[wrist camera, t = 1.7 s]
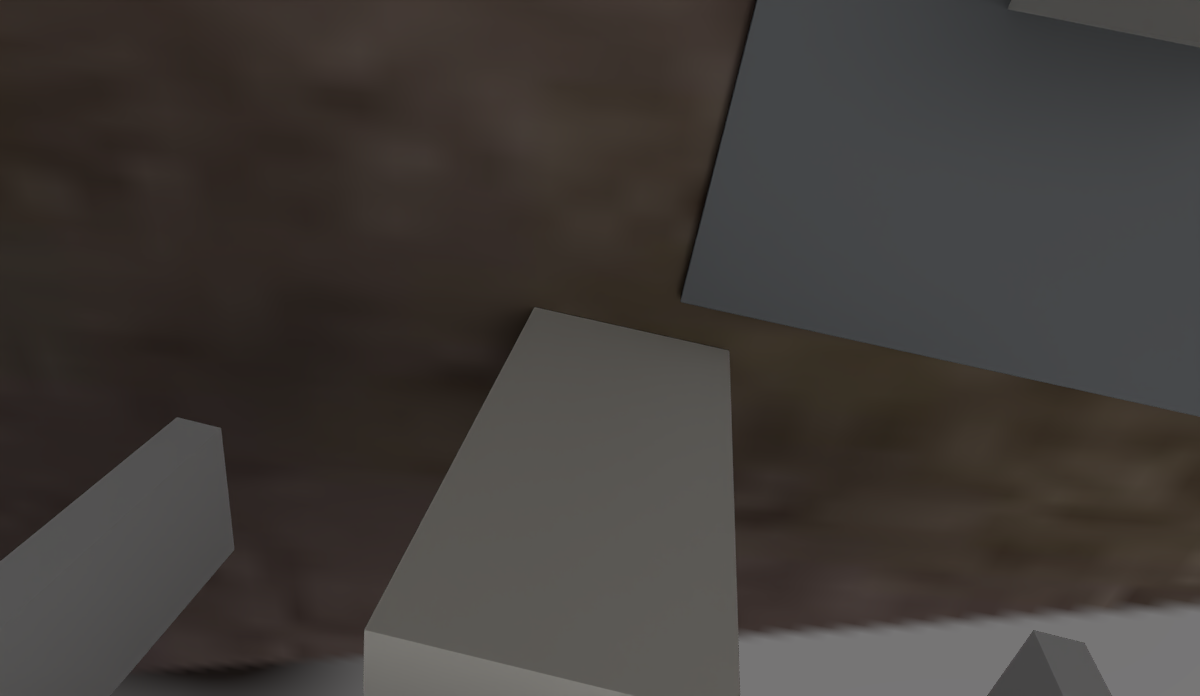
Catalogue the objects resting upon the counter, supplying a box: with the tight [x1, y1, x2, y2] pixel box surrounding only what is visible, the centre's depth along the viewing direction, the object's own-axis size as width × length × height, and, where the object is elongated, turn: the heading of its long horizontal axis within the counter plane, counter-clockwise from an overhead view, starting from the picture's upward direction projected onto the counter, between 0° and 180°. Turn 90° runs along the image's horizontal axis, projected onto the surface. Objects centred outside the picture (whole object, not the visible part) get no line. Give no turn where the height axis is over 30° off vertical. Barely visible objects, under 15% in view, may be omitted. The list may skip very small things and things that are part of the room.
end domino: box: [363, 307, 740, 696], centre depth 14 cm, size 5×2×10 cm, turn 80°
